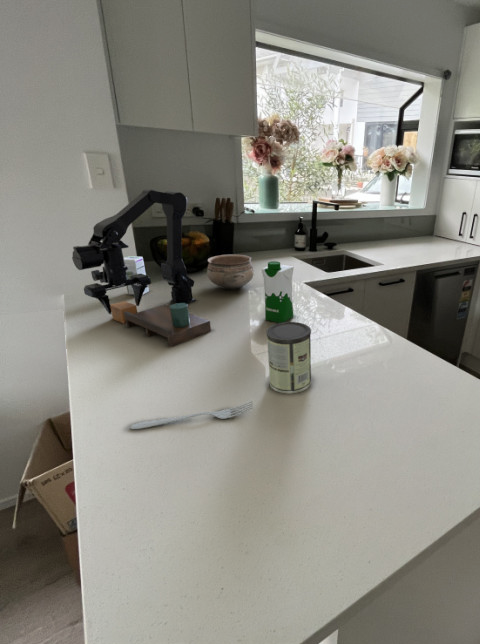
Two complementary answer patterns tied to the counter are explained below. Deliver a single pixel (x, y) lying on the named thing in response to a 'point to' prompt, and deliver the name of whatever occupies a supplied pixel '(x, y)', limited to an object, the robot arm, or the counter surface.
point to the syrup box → (134, 270)
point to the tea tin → (180, 315)
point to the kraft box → (122, 310)
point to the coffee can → (289, 357)
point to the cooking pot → (230, 271)
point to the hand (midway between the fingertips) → (124, 309)
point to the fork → (220, 414)
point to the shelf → (167, 324)
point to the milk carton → (278, 292)
